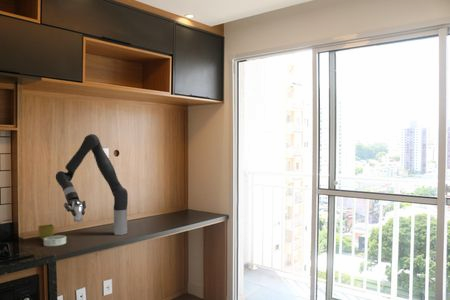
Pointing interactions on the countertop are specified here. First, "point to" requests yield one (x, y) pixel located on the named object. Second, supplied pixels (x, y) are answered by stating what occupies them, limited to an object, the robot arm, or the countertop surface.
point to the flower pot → (46, 231)
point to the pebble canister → (78, 213)
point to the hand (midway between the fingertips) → (79, 214)
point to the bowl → (55, 240)
